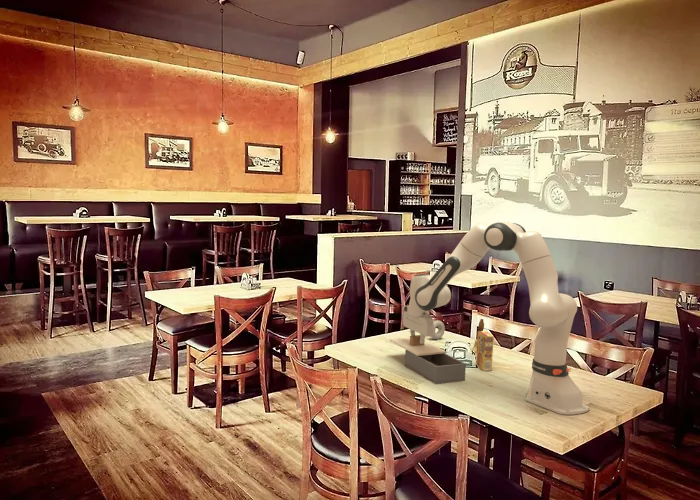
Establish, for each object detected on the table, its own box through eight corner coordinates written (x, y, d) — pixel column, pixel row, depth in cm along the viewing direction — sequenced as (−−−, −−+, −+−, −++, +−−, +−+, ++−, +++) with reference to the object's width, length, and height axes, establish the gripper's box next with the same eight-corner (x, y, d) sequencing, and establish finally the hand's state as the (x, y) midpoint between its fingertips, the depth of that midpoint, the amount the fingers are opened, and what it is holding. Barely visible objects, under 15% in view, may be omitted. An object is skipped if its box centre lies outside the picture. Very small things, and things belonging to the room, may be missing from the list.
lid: (445, 353, 229) (446, 342, 229) (417, 355, 223) (418, 344, 223) (416, 338, 251) (416, 328, 250) (389, 340, 245) (390, 330, 245)
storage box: (464, 380, 217) (465, 363, 216) (435, 384, 211) (436, 367, 211) (432, 362, 239) (432, 347, 238) (404, 365, 233) (405, 349, 232)
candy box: (492, 371, 231) (494, 336, 229) (482, 371, 230) (485, 336, 228) (484, 364, 239) (486, 330, 238) (475, 364, 239) (477, 330, 237)
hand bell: (478, 348, 265) (480, 316, 264) (491, 352, 258) (493, 320, 257) (466, 350, 260) (468, 318, 259) (479, 355, 254) (482, 321, 252)
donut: (441, 337, 283) (442, 318, 282) (445, 339, 280) (446, 320, 279) (426, 339, 277) (427, 320, 276) (431, 341, 275) (432, 322, 274)
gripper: (438, 315, 227) (436, 347, 229) (413, 305, 246) (411, 335, 247) (425, 316, 225) (423, 348, 226) (401, 306, 243) (399, 335, 245)
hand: (417, 341), depth 237 cm, fingers open, 5 cm apart
